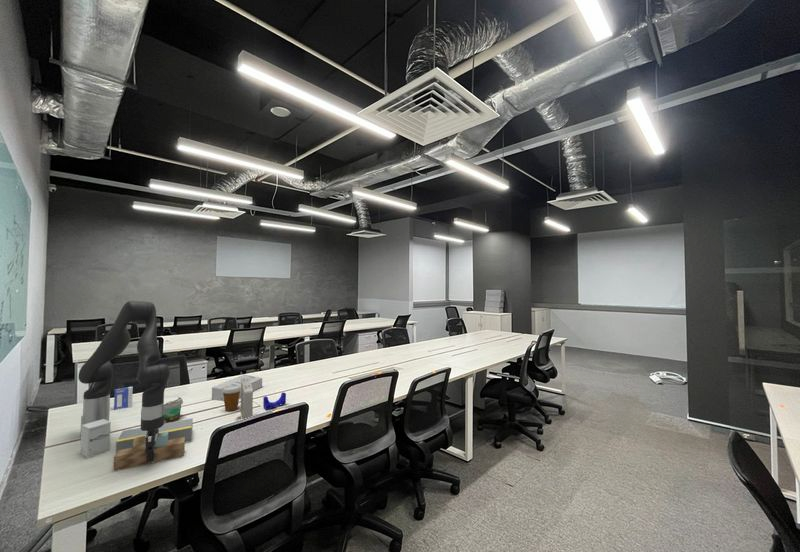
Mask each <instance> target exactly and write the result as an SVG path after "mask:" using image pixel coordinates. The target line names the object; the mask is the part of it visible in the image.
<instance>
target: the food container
mask: <svg viewBox="0 0 800 552" xmlns="http://www.w3.org/2000/svg"><path fill="white" fill-rule="evenodd" d="M183 403H184V401H183V398H182V397H180V396H179V397H177V399H175V400H172V401H168V402H166V403H164V423H169V422H175V421H180V420H181V419H180V417H181V410H182V405H183Z"/></svg>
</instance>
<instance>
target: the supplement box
mask: <svg viewBox="0 0 800 552" xmlns="http://www.w3.org/2000/svg"><path fill="white" fill-rule="evenodd" d="M110 445H111V421H110V420H109V421H107V420H105V419H102V420H98V421H94V422H91V423H87V424H83V425H81V424H80V449H79V450H80V455H82V456H84V457H85V458H87V459H88V458H91V457H94V456H97V455H100V454H103V453H106V452H110V450H111V449H110V448H111V446H110Z"/></svg>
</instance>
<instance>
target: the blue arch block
mask: <svg viewBox="0 0 800 552" xmlns="http://www.w3.org/2000/svg"><path fill="white" fill-rule="evenodd" d="M262 400H263V405H262V406H263V408H264V409H265V410H269V409H268V408H270V409H273V408H272V407H274V408H277V407H278V406H281V405H280V404H283V405H286V404H287V394H286V392H281V394H280V397H279V399H277V400H275V401H274V402H272V401H269V397H267V396H266V395H265V396H263V399H262ZM285 403H286V404H285ZM277 405H278V406H277ZM276 406H277V407H276Z"/></svg>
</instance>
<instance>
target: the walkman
mask: <svg viewBox="0 0 800 552" xmlns="http://www.w3.org/2000/svg"><path fill="white" fill-rule="evenodd" d="M133 388H134V387H133V386H128V387H122V388H115V389H114V395H113V396H114V398H113V400H114V401H113V410H114V411H117V410H122V409H127V408H132V407H133V394H134V393H133V392H134V389H133Z"/></svg>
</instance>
